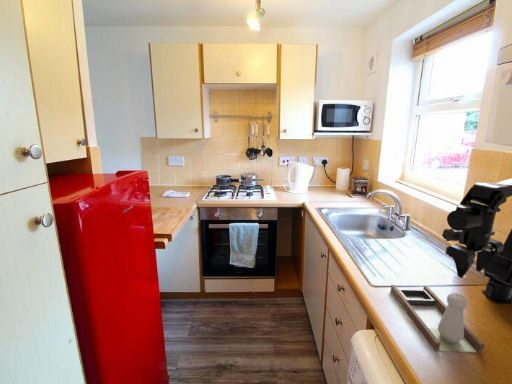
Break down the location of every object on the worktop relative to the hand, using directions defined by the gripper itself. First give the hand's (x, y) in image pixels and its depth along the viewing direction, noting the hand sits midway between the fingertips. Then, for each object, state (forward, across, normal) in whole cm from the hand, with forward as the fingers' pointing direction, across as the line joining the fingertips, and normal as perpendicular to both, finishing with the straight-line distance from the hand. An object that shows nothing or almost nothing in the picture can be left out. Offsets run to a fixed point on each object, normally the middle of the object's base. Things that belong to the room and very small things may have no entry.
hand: (469, 273), depth 86 cm
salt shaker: (+12, +18, +7) cm, 22 cm away
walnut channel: (+12, +14, -1) cm, 18 cm away
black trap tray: (+12, +10, -9) cm, 18 cm away
